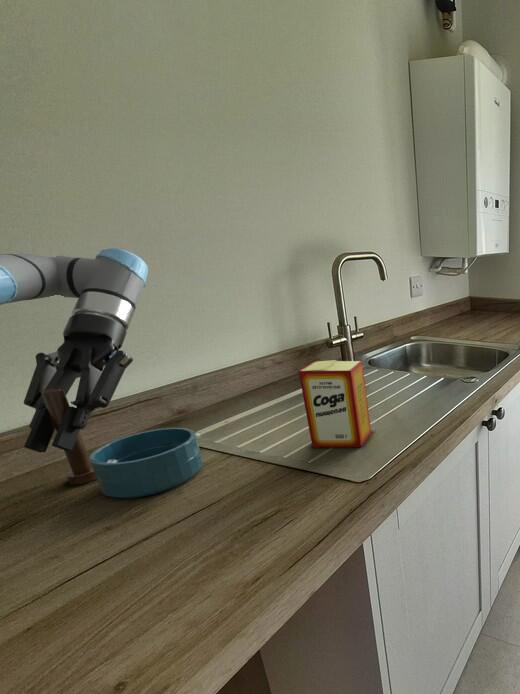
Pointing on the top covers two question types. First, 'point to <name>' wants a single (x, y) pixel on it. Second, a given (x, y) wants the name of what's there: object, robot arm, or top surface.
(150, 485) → the bowl
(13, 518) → the top surface
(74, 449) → the stirring stick
